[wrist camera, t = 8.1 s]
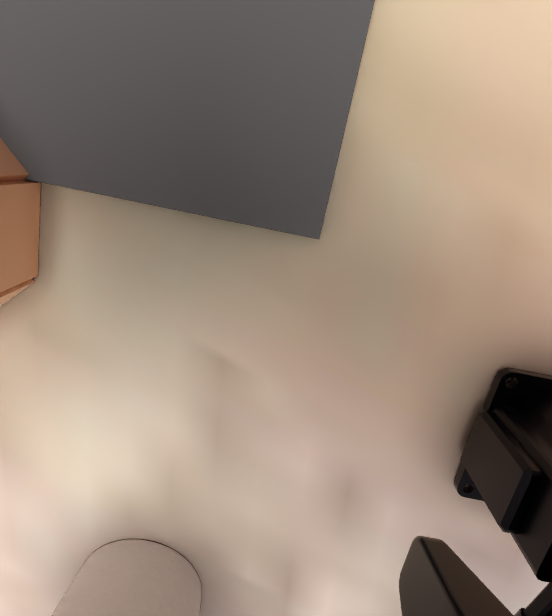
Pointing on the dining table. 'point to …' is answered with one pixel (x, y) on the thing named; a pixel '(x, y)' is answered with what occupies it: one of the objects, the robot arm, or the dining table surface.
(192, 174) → the trivet
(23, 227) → the bowl
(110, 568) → the coffee cup
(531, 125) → the dining table surface
